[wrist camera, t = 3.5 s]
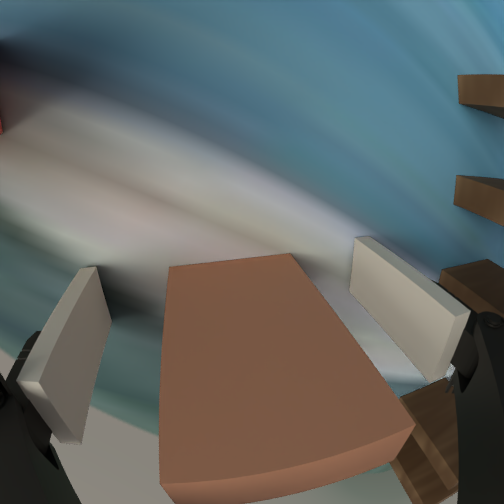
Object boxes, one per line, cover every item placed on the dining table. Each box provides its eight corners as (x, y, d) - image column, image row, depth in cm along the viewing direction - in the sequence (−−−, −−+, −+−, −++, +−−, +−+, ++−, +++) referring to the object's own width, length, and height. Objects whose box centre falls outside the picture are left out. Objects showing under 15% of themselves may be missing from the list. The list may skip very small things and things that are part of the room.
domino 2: (400, 396, 20) (458, 481, 12) (445, 377, 20) (503, 447, 12) (395, 409, 20) (448, 490, 12) (439, 389, 21) (493, 458, 13)
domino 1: (169, 267, 12) (159, 483, 4) (289, 253, 13) (416, 424, 5) (174, 300, 13) (179, 509, 5) (289, 286, 14) (393, 460, 5)
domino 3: (382, 434, 22) (426, 509, 14) (425, 415, 23) (470, 480, 14) (378, 443, 22) (418, 515, 14) (419, 425, 23) (462, 488, 15)
